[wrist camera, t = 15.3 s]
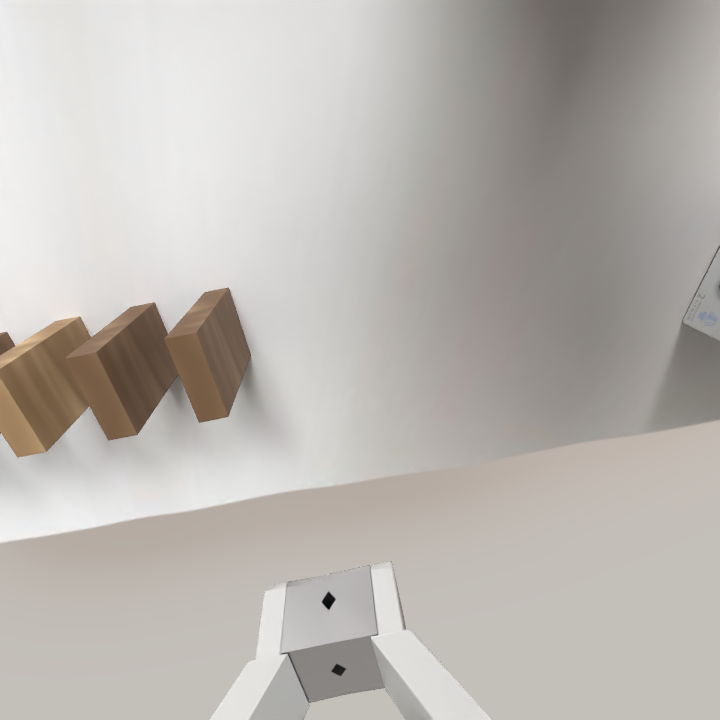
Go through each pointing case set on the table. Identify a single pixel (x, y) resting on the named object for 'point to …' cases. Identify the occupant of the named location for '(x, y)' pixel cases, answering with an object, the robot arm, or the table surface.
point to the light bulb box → (707, 303)
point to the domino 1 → (41, 388)
